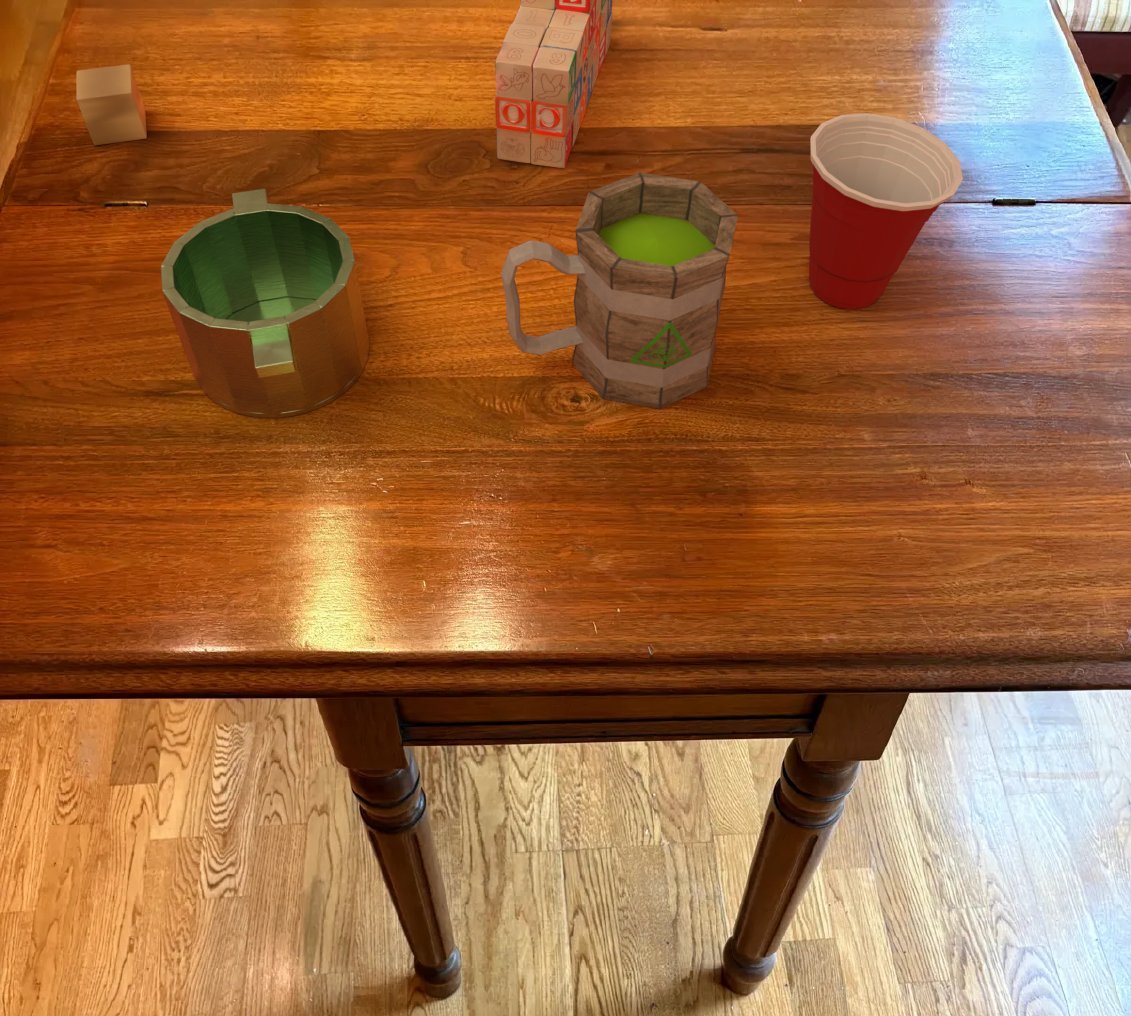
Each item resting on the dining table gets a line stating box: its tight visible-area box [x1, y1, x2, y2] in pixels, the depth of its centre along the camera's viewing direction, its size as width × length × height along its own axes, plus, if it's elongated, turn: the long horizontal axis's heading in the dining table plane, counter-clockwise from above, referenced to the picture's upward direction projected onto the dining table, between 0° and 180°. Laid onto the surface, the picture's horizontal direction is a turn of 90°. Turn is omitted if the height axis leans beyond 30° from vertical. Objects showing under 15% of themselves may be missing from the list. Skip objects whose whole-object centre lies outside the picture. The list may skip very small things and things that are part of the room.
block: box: [75, 63, 148, 146], centre depth 93 cm, size 4×4×4 cm
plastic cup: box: [808, 112, 964, 310], centre depth 80 cm, size 11×11×12 cm
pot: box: [160, 188, 371, 419], centre depth 75 cm, size 13×18×8 cm
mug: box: [501, 172, 739, 410], centre depth 74 cm, size 16×11×12 cm
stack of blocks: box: [494, 0, 613, 169], centre depth 94 cm, size 21×6×12 cm, turn 168°
